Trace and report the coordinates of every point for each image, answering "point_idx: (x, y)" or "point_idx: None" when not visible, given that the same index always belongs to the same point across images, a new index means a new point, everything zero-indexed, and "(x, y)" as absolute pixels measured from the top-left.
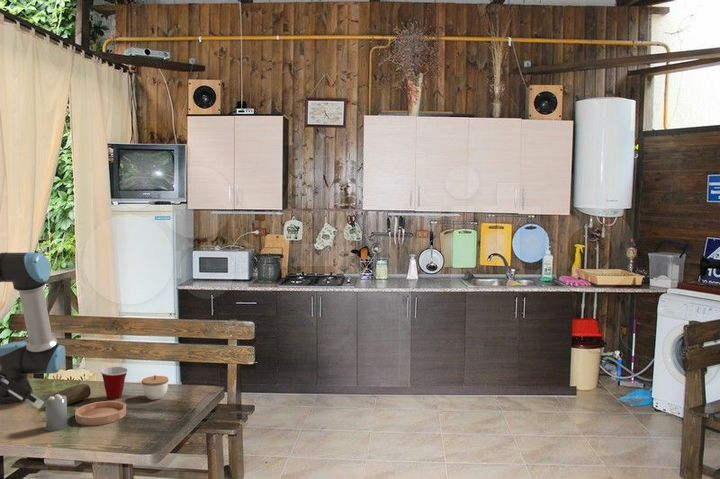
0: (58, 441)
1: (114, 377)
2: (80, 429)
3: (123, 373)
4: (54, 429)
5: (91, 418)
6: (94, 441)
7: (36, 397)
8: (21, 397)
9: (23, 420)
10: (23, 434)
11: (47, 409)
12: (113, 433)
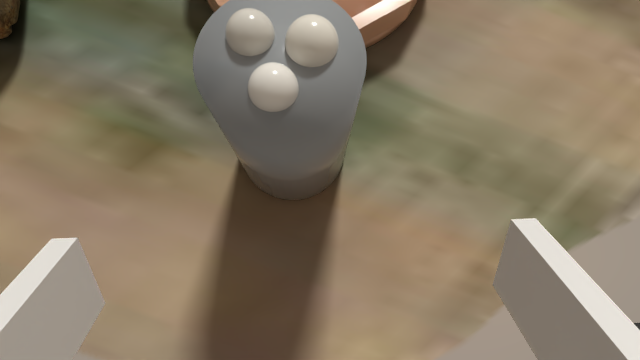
0: (495, 218)
1: None
2: (407, 84)
3: None
4: (337, 174)
5: (404, 6)
6: (607, 103)
7: (619, 316)
8: (82, 314)
9: (33, 231)
10: (256, 313)
11: (305, 160)
12: (561, 12)
